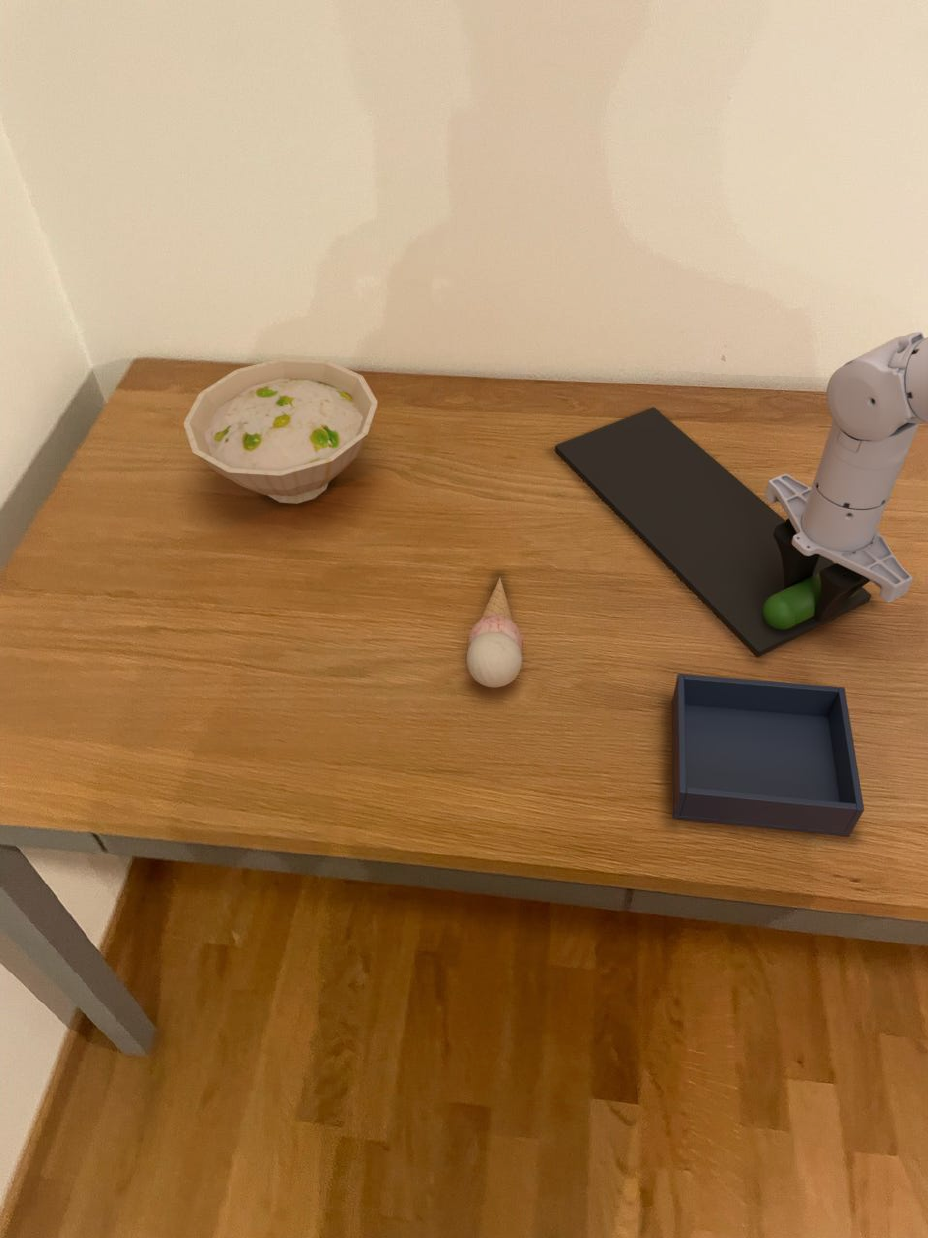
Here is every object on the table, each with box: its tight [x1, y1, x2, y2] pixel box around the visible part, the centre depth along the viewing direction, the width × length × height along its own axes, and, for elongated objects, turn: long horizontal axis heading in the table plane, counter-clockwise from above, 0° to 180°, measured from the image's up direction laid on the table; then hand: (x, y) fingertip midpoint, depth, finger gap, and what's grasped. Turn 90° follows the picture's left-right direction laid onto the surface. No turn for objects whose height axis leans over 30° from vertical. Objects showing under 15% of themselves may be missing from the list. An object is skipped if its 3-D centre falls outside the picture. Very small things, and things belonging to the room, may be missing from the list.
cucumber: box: [763, 573, 858, 629], centre depth 82 cm, size 10×3×3 cm, turn 119°
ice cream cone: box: [465, 577, 524, 688], centre depth 82 cm, size 5×5×15 cm
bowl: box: [182, 357, 379, 505], centre depth 95 cm, size 19×19×10 cm
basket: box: [671, 673, 865, 837], centre depth 72 cm, size 13×11×4 cm
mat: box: [554, 406, 872, 658], centre depth 92 cm, size 33×13×1 cm, turn 29°
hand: (810, 601), depth 82 cm, fingers closed on cucumber, 3 cm apart
